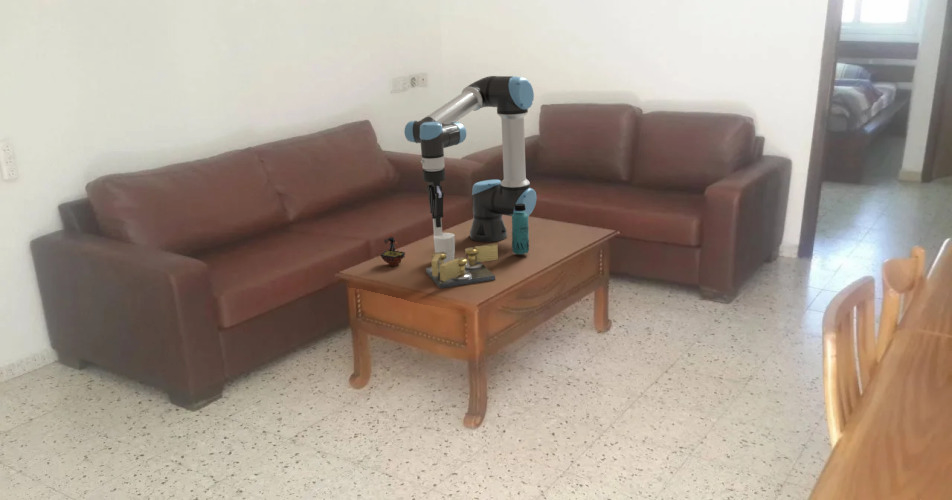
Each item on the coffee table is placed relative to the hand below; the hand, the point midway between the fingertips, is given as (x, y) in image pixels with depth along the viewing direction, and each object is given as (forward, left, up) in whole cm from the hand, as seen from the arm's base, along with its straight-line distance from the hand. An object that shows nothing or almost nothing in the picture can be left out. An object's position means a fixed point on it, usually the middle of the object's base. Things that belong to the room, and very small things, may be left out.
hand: (438, 235), depth 274 cm
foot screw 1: (+1, +1, -13) cm, 13 cm away
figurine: (+12, -21, -16) cm, 29 cm away
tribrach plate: (-7, +1, -16) cm, 17 cm away
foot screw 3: (-16, -3, -13) cm, 21 cm away
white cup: (-7, -17, -16) cm, 24 cm away
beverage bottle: (-35, -11, -16) cm, 40 cm away
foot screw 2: (-3, +8, -13) cm, 16 cm away
